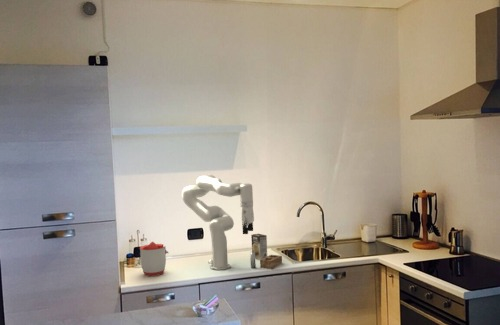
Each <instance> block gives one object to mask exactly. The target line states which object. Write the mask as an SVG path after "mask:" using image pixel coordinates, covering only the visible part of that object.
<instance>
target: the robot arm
mask: <svg viewBox="0 0 500 325" xmlns="http://www.w3.org/2000/svg"><path fill="white" fill-rule="evenodd" d="M209 192H213V193H216V194H217V195H219V196H224V197H229V198H231V197H236V196H240V197H239V198H240V208H241V222H242V223H241V225H242V226H241V228H242V234H243V235H248V234H249V232H253V231H254V221H255V216H254V196H253V185H252V184H251V183H241V182H236V183H229V184H228V183H223V182H222V180H221V179H220V178H217V177H216V176H214V175H213V174H207V175H206V174H205V175H201V176H198V178H197V179H196V183H195V184H194V185H193V184H191V185H188V186H185V187H184V188H183V189H182V191H181V197H182V200H183V202H184V204H185V205H186V206H187V207H188V208H189V209H190V210H192V211H193V212H194V213H195V214H196V215H197V216H198V217H199V218H200V219H201V220H202V221H203V222H205V223H209V227H208V228H209V231H210V237H211V254H212V257H211V259H209V260H208V264H210V269H211V270H215V271H221V270H227V269H230V268H231V264H230V263H228V262H229V261H228V260H229V259H228V240H227V235H226V234H225V232H227V231H229V230H230V231H231V229H233V227H234V225H235V223H234V219H233V217H232V216H231V215H230V214H228V213H227V212H226V211H225V210H224V209H223V208H221V207H220V206H218V205H211V206H210V205H209V206H208V205H207V204H206V203H205V202H204V201H203V200H201V199H199V198H202V197H204V196H206V195H207V194H209Z"/></svg>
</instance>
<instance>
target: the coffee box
mask: <svg viewBox="0 0 500 325" xmlns="http://www.w3.org/2000/svg"><path fill="white" fill-rule="evenodd" d="M267 239H268V237H267V235H266V234H262V233H253V234H251V252H252V251H254V252H255V260H258V261H260V260H261V259H263V258H265V257H267V256H268V240H267Z"/></svg>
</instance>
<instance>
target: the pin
mask: <svg viewBox="0 0 500 325" xmlns="http://www.w3.org/2000/svg"><path fill="white" fill-rule="evenodd" d="M249 253H250V255H249V257H250V269H256V259H255V252H254V251H252V250H251V251H250V252H249Z"/></svg>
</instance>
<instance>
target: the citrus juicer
mask: <svg viewBox="0 0 500 325" xmlns="http://www.w3.org/2000/svg"><path fill="white" fill-rule="evenodd" d="M139 251H140V252H139V255H140V264H141V269H142V272H143V274H144V275H145V276H148V277H152V276H153V277H155V276H159V275H163V274H164V273H165V270H166V264H167V257H166V255H167V254H169V251H167V249H166V245H165V246H164V244H162V243H156V242H154V241H150V243H149V244H146V245H142V246H140V247H139Z"/></svg>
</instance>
